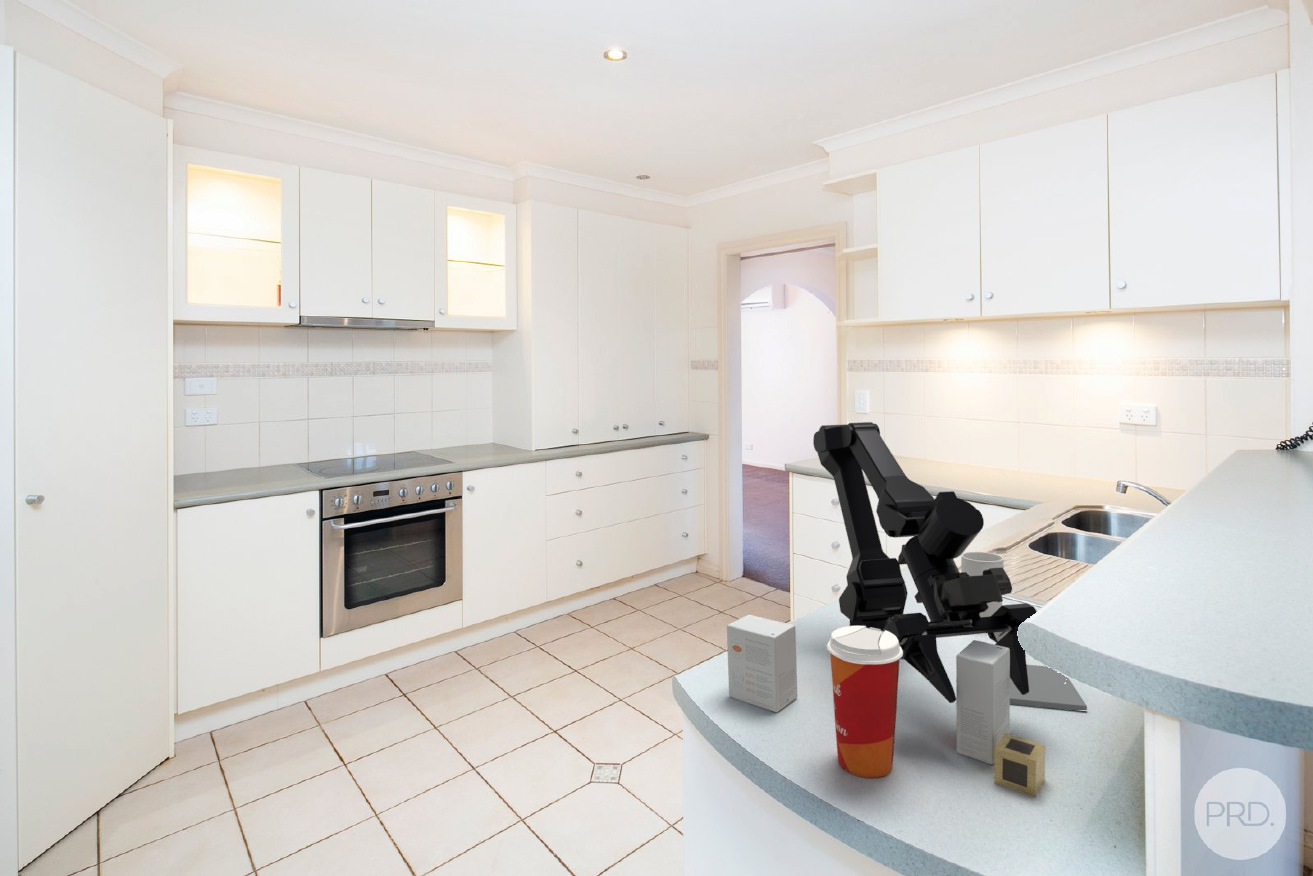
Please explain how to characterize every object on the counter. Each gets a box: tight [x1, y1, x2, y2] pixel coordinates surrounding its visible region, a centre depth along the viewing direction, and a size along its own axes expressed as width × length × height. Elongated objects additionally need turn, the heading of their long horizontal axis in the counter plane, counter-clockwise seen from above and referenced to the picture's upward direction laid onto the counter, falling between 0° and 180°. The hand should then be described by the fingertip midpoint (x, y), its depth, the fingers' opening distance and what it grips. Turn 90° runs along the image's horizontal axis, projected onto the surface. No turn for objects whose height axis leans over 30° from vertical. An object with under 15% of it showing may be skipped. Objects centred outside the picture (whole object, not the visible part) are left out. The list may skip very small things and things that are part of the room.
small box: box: [726, 614, 798, 713], centre depth 94 cm, size 8×6×10 cm
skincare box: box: [955, 639, 1011, 765], centre depth 79 cm, size 6×4×12 cm
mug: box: [960, 551, 1005, 617], centre depth 120 cm, size 10×7×12 cm, turn 162°
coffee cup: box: [826, 625, 903, 779], centre depth 77 cm, size 8×8×15 cm
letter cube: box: [993, 733, 1046, 798], centre depth 73 cm, size 4×4×4 cm
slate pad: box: [1010, 664, 1088, 711], centre depth 95 cm, size 12×12×1 cm
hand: (990, 697), depth 78 cm, fingers open, 9 cm apart
